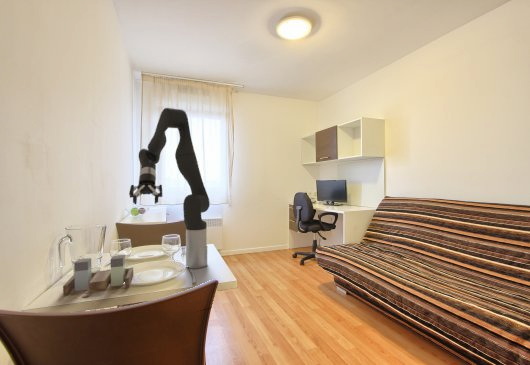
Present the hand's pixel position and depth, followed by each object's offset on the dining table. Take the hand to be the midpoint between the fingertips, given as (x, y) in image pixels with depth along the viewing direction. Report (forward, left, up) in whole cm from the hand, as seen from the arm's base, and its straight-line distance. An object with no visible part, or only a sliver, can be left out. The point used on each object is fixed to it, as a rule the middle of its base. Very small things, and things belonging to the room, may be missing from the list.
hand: (145, 203), depth 117 cm
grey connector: (+19, +22, -28) cm, 40 cm away
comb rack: (+13, +22, -29) cm, 38 cm away
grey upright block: (+8, +22, -28) cm, 36 cm away
